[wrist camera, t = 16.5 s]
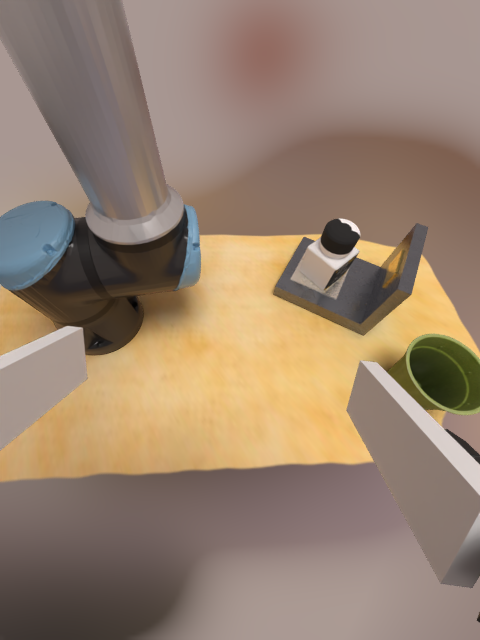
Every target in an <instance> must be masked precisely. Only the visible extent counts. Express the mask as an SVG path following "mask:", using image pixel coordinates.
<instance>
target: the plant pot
mask: <svg viewBox="0 0 480 640" xmlns="http://www.w3.org/2000/svg"><path fill="white" fill-rule="evenodd" d="M387 373H388V374H389V375H390V376H391V377H392V378H393V379H394V380H395V381H396V382H397V383H398V384H399V385H400V386H401V387H402V388H403V389H404V390H405V391H406V392H407V393H408V394H409V395H410V396H411V397H412V398H413V399H414V400H415V401H416V402H417V403H418V404H419V405H420V406H421V407H422V408H423V409H430V410H442V411H447V412H450V413H453V414H458V415H472V414H476V413H479V412H480V359H479V358H478V357H477V356H476V354H475V353H474V352H473V351H472V350H470V349H469V348H468V347H467V346H465V345H464V344H462V343H461V342H459V341H457V340H455V339H453V338H451V337H448V336H445V335H440V334H426V335H422V336H419V337H418V338H416V339H415V340H413V341H412V342H411V344H410V345H409V347H408V349H407V352H406V353H405V355H404V356H403V357H402V358H401V359H400V360H399V361H398V362H397V363H396V364H395V365H394V366H393V367H392V368H390V369H389V370H388V371H387Z"/></svg>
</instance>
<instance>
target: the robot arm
mask: <svg viewBox="0 0 480 640" xmlns="http://www.w3.org/2000/svg"><path fill="white" fill-rule="evenodd" d="M0 39H1V41H2V43H3V45H4V46H5V48H6V50H7V52H8V54H9V56H10V57H11V59H12V61H13V63H14V65H15V66H16V68H17V70H18V72H19V74H20V76H21V77H22V79H23V81H24V83H25V84H26V86H27V88H28V90H29V92H30V93H31V95H32V97H33V99H34V101H35V103H36V104H37V106H38V108H39V110H40V112H41V113H42V115H43V117H44V119H45V121H46V123H47V124H48V126H49V128H50V130H51V132H52V133H53V135H54V137H55V139H56V141H57V142H58V144H59V146H60V148H61V150H62V152H63V153H64V155H65V157H66V159H67V161H68V162H69V164H70V166H71V168H72V170H73V171H74V173H75V175H76V177H77V178H78V180H79V182H80V184H81V186H82V188H83V190H84V191H85V193H86V195H87V197H88V199H89V200H90V203H89V205H88V207H87V210H86V217H82V218H74V217H73V215H72V213H71V212H70V211H69V210H67V209H66V208H65V207H63V206H62V205H59V204H57V203H56V202H52V201H36V202H30V203H26V204H23V205H21V206H18V207H16V208H14V209H12V210H10V211H8V212H7V213H5V214H4V215H2V216H1V217H0V284H1V285H2V286H3V287H4V288H6V289H8V290H9V291H11V292H12V293H14V294H15V295H17V296H18V297H19V298H21V299H22V300H24V301H25V302H27V303H28V304H30V305H31V306H32V307H34V308H35V309H37V310H38V311H40V312H41V313H43V314H44V315H45V316H47V317H48V318H50V319H51V320H53V322H54V324H55V326H56V328H57V331H55V332H52V333H50V334H48V335H46V336H44V337H41V338H39V339H37V340H35V341H32V342H30V343H28V344H26V345H24V346H21V347H19V348H17V349H15V350H13V351H10V352H8V353H6V354H4V355H2V356H0V450H2V449H3V448H4V447H5V446H6V445H8V444H9V443H10V442H11V441H12V440H14V439H15V438H16V437H17V436H18V435H20V434H21V433H22V432H23V431H25V430H26V429H27V428H28V427H29V426H31V425H32V424H33V423H34V422H35V421H37V420H38V419H39V418H40V417H42V416H43V415H44V414H45V413H46V412H48V411H49V410H50V409H51V408H52V407H54V406H55V405H56V404H57V403H59V402H60V401H61V400H62V399H63V398H65V397H66V396H67V395H68V394H69V393H71V392H72V391H73V390H74V389H76V388H77V387H78V386H79V385H80V384H82V383H83V382H84V381H85V380H86V379H87V368H86V357H85V354H88V355H102V354H107V353H110V352H113V351H115V350H118V349H119V348H121V347H123V346H124V345H126V344H127V343H128V342H129V341H131V340H132V338H133V337H134V336H135V335H136V334H137V332H138V331H139V329H140V327H141V324H142V321H143V307H142V304H141V302H140V300H139V299H138V297H137V296H138V295H145V294H153V293H160V292H168V291H177V290H178V289H181V288H186V287H191V286H194V285H195V284H196V283H197V282H198V281H199V278H200V273H201V253H200V247H199V246H200V237H199V228H198V221H197V216H196V212H195V209H194V208H193V207H192V206H187V205H184V204H183V200H182V198H181V196H180V194H179V193H178V192H177V191H176V190H175V189H174V188H173V187H171V186H169V185H168V184H166V181H165V177H164V172H163V168H162V164H161V160H160V156H159V151H158V147H157V143H156V139H155V135H154V131H153V126H152V122H151V118H150V114H149V110H148V106H147V101H146V98H145V93H144V89H143V85H142V81H141V76H140V72H139V68H138V64H137V60H136V56H135V52H134V47H133V43H132V39H131V35H130V31H129V26H128V22H127V18H126V14H125V10H124V6H123V2H122V0H0ZM347 412H348V414H349V416H350V418H351V420H352V421H353V423H354V425H355V427H356V429H357V431H358V433H359V434H360V436H361V438H362V440H363V442H364V444H365V445H366V447H367V449H368V451H369V453H370V455H371V456H372V458H373V460H374V462H375V464H376V466H377V467H378V469H379V471H380V473H381V474H382V477H383V479H384V480H385V482H386V484H387V486H388V488H389V490H390V491H391V493H392V495H393V497H394V499H395V501H396V502H397V504H398V506H399V508H400V510H401V512H402V514H403V515H404V517H405V519H406V521H407V523H408V524H409V526H410V528H411V530H412V532H413V534H414V536H415V537H416V539H417V541H418V543H419V545H420V546H421V548H422V550H423V552H424V554H425V556H426V558H427V560H428V561H429V563H430V565H431V567H432V569H433V571H434V572H435V574H436V576H437V578H438V580H439V582H440V583H441V584H447V585H454V586H462V587H469V588H473V586H474V584H475V583H476V581H477V579H478V578H479V576H480V455H479V454H478V453H477V452H476V451H475V450H474V449H473V448H472V447H471V446H470V445H469V444H468V443H467V442H466V441H464V440H463V439H461V438H460V437H458V436H457V435H455V434H454V433H452V432H451V431H449V430H448V429H443V428H442V427H441V426H440V425H439V424H438V423H437V422H436V421H435V420H434V419H433V418H432V417H431V416H430V415H429V414H428V413H427V412H426V411H425V410H424V409H423V408H422V407H421V406H420V405H419V404H418V403H417V402H416V401H415V400H414V399H413V398H412V397H411V396H410V395H409V394H408V393H407V392H406V391H405V390H404V389H403V388H402V387H401V386H400V385H399V384H398V383H397V382H396V381H395V380H394V379H393V378H392V377H391V376H390V375H389V374H388V373H387V372H386V371H385V370H384V369H383V368H382V367H381V366H380V365H379V364H378V363H377V362H369V361H361V360H360V363H359V367H358V370H357V374H356V377H355V381H354V385H353V388H352V392H351V396H350V399H349V403H348V406H347ZM477 621H478V622H480V613H479V615H478V618H477Z"/></svg>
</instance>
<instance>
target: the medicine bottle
mask: <svg viewBox="0 0 480 640" xmlns="http://www.w3.org/2000/svg"><path fill="white" fill-rule="evenodd" d="M359 238H360V231H359V229H358V227H357V226H356V225H355V224H354V223H353V222H351V221H349V220H346V219H334V220H332V221H330V222H328V223H327V225H326V226H325V229H324V231H323V233H322V236H321V237H320V238H319V239H318V240H316V241H315V242H313V243H312V244H311V245H309V246H308V247H307V249H306V252H305V255H304V257H303V260H302V263H301V265H300V268H299V271H300V272H302V273H303V274H304V275H305V276H306V277H307V278H309V279H310V280H311V281H312V282H313V283H314V284H316V285H317V286H318V287H319V288H320V289H321V290H323V291H325V290H326V289H327V288H329V287H330V286H331V285H332V284H333V283H335V282H336V281H337V280H338V279H340V278H341V277H342V276H343V275H344V274H345V273H346V272H347V270H348V269H349V267H350V266H351V264H352V263H353V261H354V259H355V258H356V256H357V255H358V253H359V250H358V249H356V248H355V247H354V246H355V245H356V243H357V241H358V240H359Z"/></svg>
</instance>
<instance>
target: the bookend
mask: <svg viewBox="0 0 480 640" xmlns="http://www.w3.org/2000/svg"><path fill="white" fill-rule="evenodd" d="M427 230H428V227H426V226H423V225H420V224H418V223H417V224H416V225H415V226H414V227H413V228H412V230H411V231H410V232H409V233H408V234H407V235H406V237H405V238H404V239H403V240H402V242H401V243H400V244H399V245H398V246H397V248H396V249H395V250H394V251H393V253H392V254H391V255H390V256H389V257H388V259H387V260H386V261H385V262H384V263H383V265H382V266H381V267H379V266H376V265H374V264H371V263H369V262H366V261H364V260H361V259H359V258H355V259H354V261H353V263H352V264H351V266H350V267H349V269H348V270H347V272H346V273H345V274H344V275H343V276H342V277H341V278H340V279H338V280H337V281H336V282H335V283H333V284H332V285H331V286H330V287H329V288H327V289H326V290H325V291H323V290H321V289H320V288H319V287H318V286H317V285H316V284H314V283H313V282H312V281H311V280H310V279H309V278H307V277H306V276H305V275H304V274H303V273H302V272H300V271H299V268H300V265H301V263H302V260H303V257H304V255H305V252H306V249H307V247H308V246H309V245H311V244H312V243H313V242H315V241H313V240H311V239H308V238H306V237H303V239H302V241H301V243H300V244H299V246H298V248H297V250H296V251H295V253H294V255H293V257H292V258H291V260H290V262H289V264H288V265H287V267H286V269H285V271H284V272H283V274H282V276H281V278H280V279H279V281H278V283H277V285H276V286H275V290H274V294H273V295H276V296H278V297H280V298H282V299H284V300H287V301H289V302H291V303H293V304H295V305H298V306H300V307H302V308H304V309H306V310H309V311H311V312H313V313H315V314H317V315H320V316H322V317H324V318H326V319H328V320H331V321H333V322H335V323H337V324H339V325H342V326H344V327H346V328H348V329H350V330H352V331H355V332H357V333H359V334H361V335H363V336H364V335H365V334H366V333H367V332H368V331H369V330H371V329H372V328H373V327H374V326H375V325H376V324H378V323H379V322H380V321H381V320H382V319H383V318H385V317H386V316H387V315H388V314H389V313H390V312H392V311H393V310H394V309H395V308H396V307H397V306H399V305H400V304H401V303H402V302H403V301H404V300H406V299H407V298H408V297H409V296H410V295H411V293H412V290H413V286H414V282H415V278H416V274H417V270H418V266H419V262H420V258H421V254H422V250H423V246H424V242H425V238H426V234H427Z"/></svg>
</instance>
